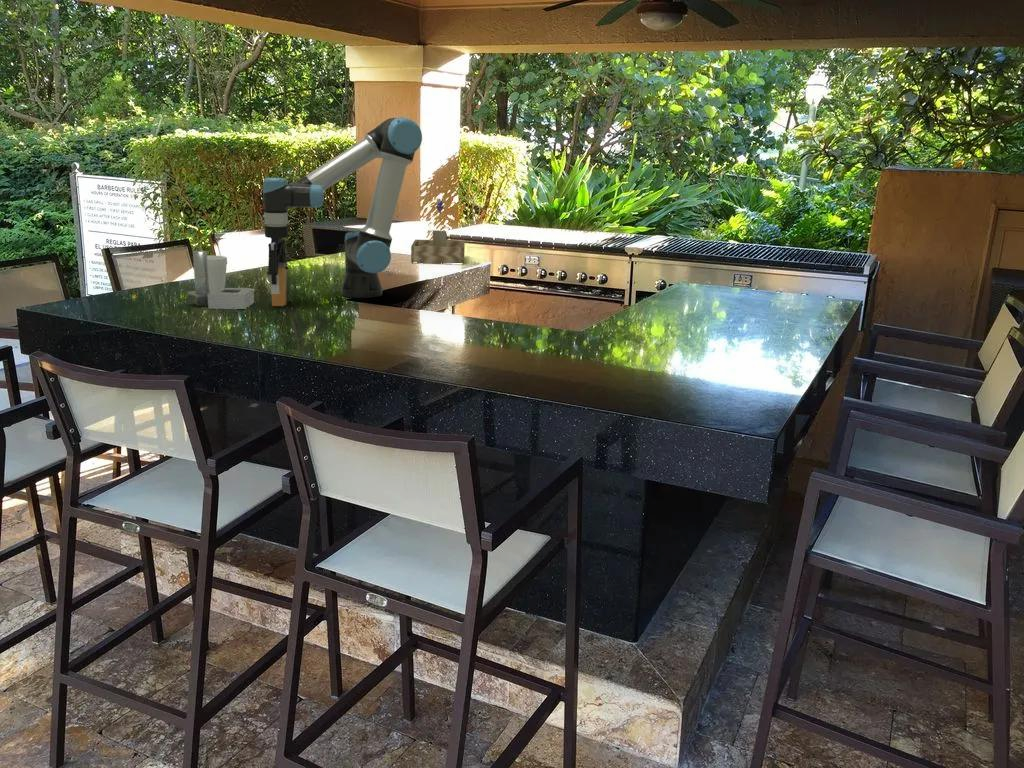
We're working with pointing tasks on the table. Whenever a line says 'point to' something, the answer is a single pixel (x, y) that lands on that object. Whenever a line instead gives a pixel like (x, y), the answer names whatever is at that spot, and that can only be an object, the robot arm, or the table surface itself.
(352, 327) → the table surface
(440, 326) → the table surface
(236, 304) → the grey angular stepped piece
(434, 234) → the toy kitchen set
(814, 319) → the table surface
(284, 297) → the wedge pin
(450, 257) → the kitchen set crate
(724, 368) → the table surface
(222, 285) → the foam cup
